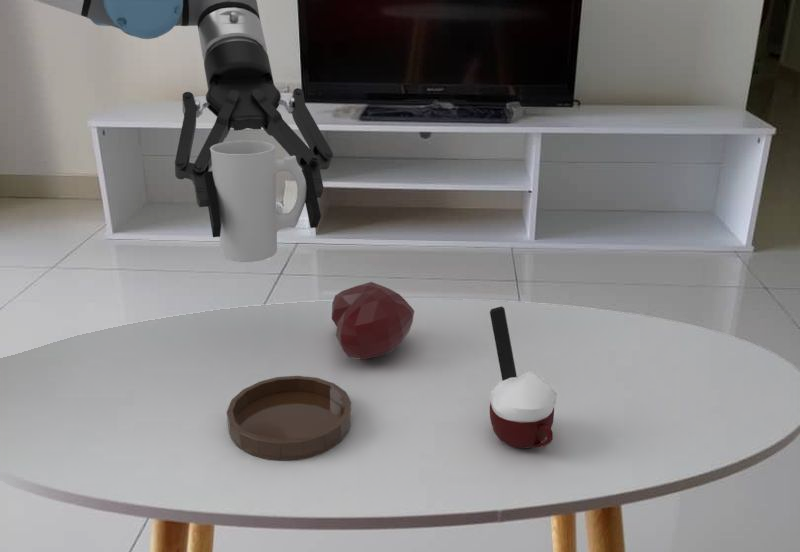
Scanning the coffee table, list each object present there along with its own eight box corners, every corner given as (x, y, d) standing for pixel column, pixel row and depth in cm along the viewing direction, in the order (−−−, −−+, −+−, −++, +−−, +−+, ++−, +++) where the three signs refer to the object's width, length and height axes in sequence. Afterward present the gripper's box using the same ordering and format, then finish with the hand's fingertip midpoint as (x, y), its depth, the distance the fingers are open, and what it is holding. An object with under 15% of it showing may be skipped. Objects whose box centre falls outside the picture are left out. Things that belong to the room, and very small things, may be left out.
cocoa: (561, 463, 70) (575, 350, 66) (495, 465, 70) (504, 351, 65) (537, 408, 79) (548, 305, 74) (478, 409, 79) (485, 306, 74)
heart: (407, 316, 97) (332, 331, 96) (401, 262, 94) (323, 277, 93) (428, 363, 86) (344, 380, 85) (422, 304, 83) (334, 321, 82)
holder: (238, 471, 68) (237, 453, 68) (221, 402, 79) (220, 385, 78) (366, 447, 72) (366, 429, 71) (333, 383, 83) (333, 368, 82)
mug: (217, 264, 81) (208, 155, 76) (219, 243, 87) (211, 140, 82) (310, 260, 83) (307, 152, 78) (306, 239, 89) (303, 138, 84)
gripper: (132, 38, 81) (156, 220, 74) (334, 35, 88) (374, 201, 81) (136, 81, 88) (159, 252, 80) (323, 75, 95) (360, 232, 87)
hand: (267, 226), depth 81 cm, fingers closed on mug, 10 cm apart
